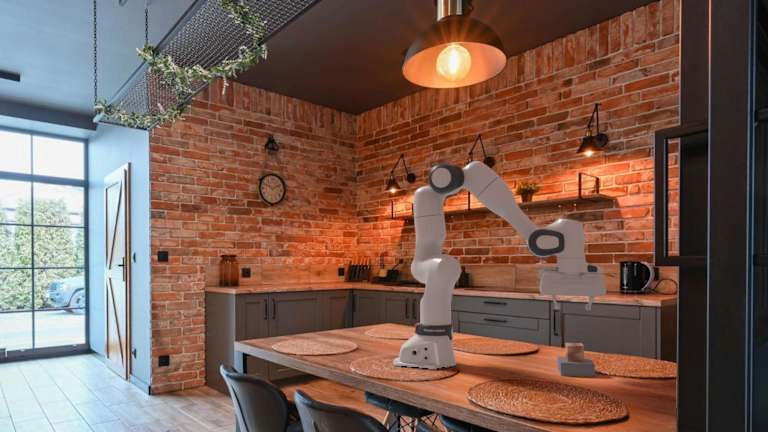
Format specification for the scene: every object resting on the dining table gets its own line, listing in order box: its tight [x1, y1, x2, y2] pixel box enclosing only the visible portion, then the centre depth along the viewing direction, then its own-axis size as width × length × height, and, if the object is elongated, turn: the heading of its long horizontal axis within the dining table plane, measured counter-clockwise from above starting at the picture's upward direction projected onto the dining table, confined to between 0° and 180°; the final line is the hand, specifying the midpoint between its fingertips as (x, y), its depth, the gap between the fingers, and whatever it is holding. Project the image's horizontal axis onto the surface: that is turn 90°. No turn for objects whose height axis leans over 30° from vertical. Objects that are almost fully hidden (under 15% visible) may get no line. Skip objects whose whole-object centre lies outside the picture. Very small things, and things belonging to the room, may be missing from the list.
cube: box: [565, 342, 585, 362], centre depth 158 cm, size 5×5×5 cm
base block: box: [557, 356, 596, 378], centre depth 158 cm, size 10×10×4 cm
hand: (572, 309), depth 160 cm, fingers open, 8 cm apart
